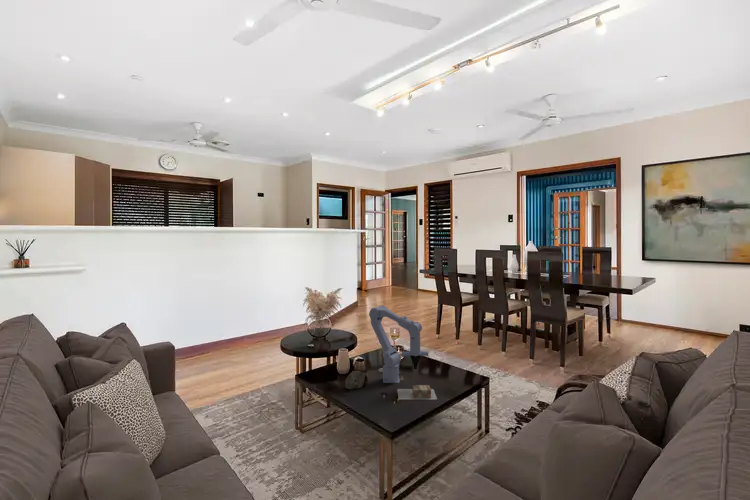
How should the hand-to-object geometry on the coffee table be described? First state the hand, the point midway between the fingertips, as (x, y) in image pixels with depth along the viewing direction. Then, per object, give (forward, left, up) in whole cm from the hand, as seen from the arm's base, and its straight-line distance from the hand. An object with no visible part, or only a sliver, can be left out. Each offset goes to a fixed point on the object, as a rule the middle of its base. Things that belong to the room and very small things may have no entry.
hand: (415, 368), depth 201 cm
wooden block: (-2, -11, -8) cm, 14 cm away
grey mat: (0, -10, -10) cm, 14 cm away
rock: (-33, 0, -11) cm, 34 cm away
